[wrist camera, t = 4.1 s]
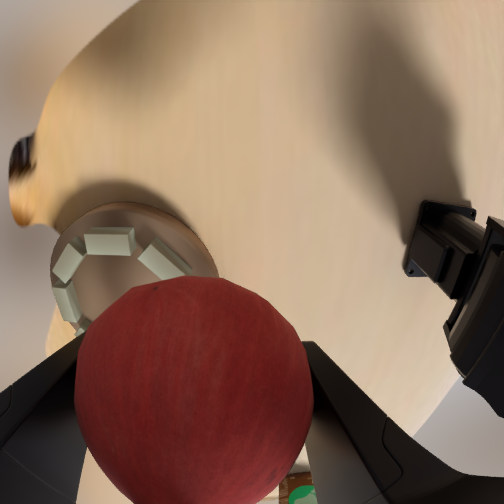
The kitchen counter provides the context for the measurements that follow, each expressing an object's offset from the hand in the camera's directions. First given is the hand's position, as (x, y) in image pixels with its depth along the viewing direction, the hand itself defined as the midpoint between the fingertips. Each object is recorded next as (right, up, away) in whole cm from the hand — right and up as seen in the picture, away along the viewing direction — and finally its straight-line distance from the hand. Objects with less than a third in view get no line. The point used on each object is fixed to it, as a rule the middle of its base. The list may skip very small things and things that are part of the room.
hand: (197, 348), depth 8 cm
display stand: (-8, 0, +13) cm, 15 cm away
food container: (+12, -41, +34) cm, 55 cm away
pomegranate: (0, +1, +2) cm, 2 cm away
